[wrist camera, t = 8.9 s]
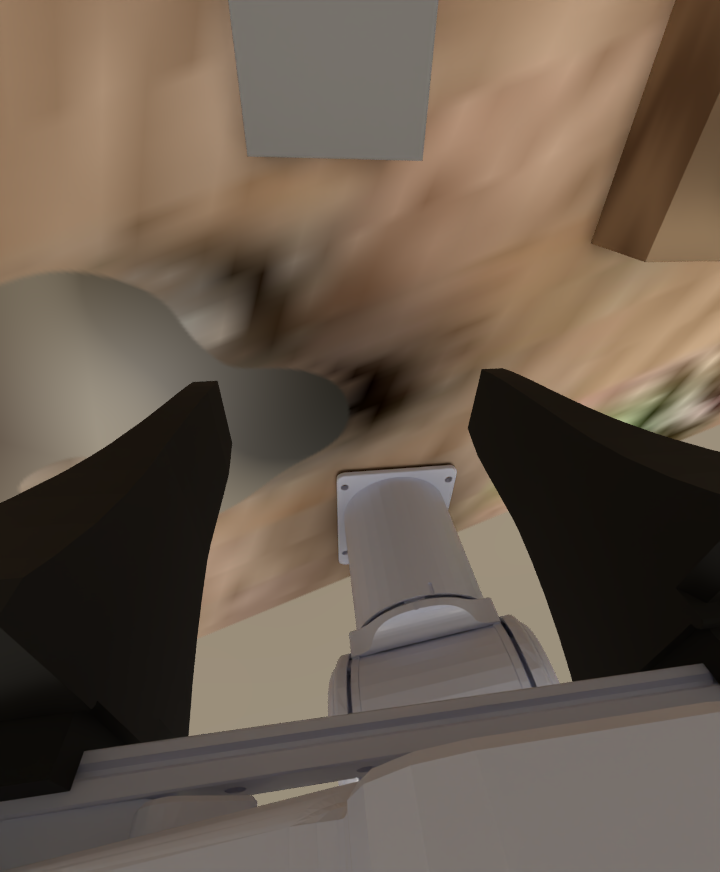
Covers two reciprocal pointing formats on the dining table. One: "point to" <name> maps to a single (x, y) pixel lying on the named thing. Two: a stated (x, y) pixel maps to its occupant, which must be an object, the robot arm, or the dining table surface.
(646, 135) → the walnut block
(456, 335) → the dining table surface
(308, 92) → the charcoal cube
